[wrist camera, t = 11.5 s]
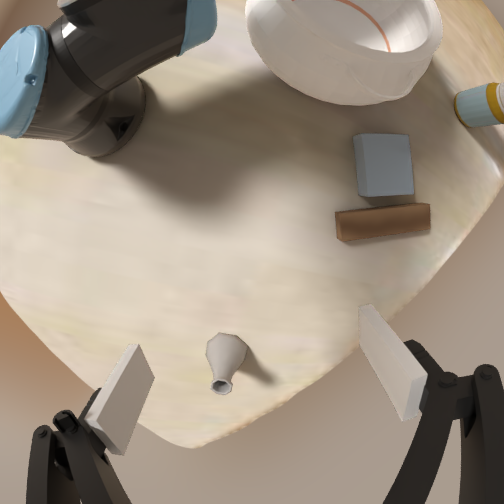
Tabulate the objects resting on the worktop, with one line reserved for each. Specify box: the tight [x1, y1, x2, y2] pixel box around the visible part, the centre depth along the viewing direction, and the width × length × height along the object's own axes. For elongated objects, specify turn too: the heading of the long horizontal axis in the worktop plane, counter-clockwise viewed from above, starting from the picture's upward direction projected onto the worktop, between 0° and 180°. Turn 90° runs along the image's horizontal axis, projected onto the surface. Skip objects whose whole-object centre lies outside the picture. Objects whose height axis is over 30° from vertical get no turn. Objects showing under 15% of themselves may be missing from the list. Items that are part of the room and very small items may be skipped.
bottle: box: [454, 83, 504, 127], centre depth 28 cm, size 7×7×15 cm
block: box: [335, 203, 430, 242], centre depth 40 cm, size 4×16×2 cm, turn 98°
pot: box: [245, 0, 443, 106], centre depth 26 cm, size 29×26×16 cm
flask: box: [206, 333, 248, 395], centre depth 42 cm, size 7×7×10 cm
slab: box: [353, 133, 414, 197], centre depth 37 cm, size 4×8×9 cm
